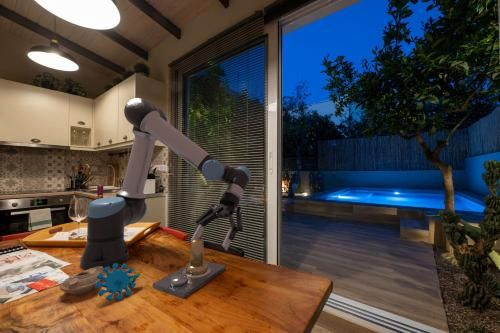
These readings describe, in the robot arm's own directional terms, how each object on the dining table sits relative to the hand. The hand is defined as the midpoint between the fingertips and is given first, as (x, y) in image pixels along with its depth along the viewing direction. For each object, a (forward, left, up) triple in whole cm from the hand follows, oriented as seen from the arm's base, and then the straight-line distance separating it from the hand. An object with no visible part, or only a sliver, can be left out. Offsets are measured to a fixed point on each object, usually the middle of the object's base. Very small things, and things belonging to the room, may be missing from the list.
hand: (208, 245), depth 76 cm
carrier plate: (0, -7, -8) cm, 11 cm away
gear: (-12, -24, -9) cm, 28 cm away
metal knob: (0, -5, -7) cm, 9 cm away
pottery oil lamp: (-23, -26, -9) cm, 36 cm away
